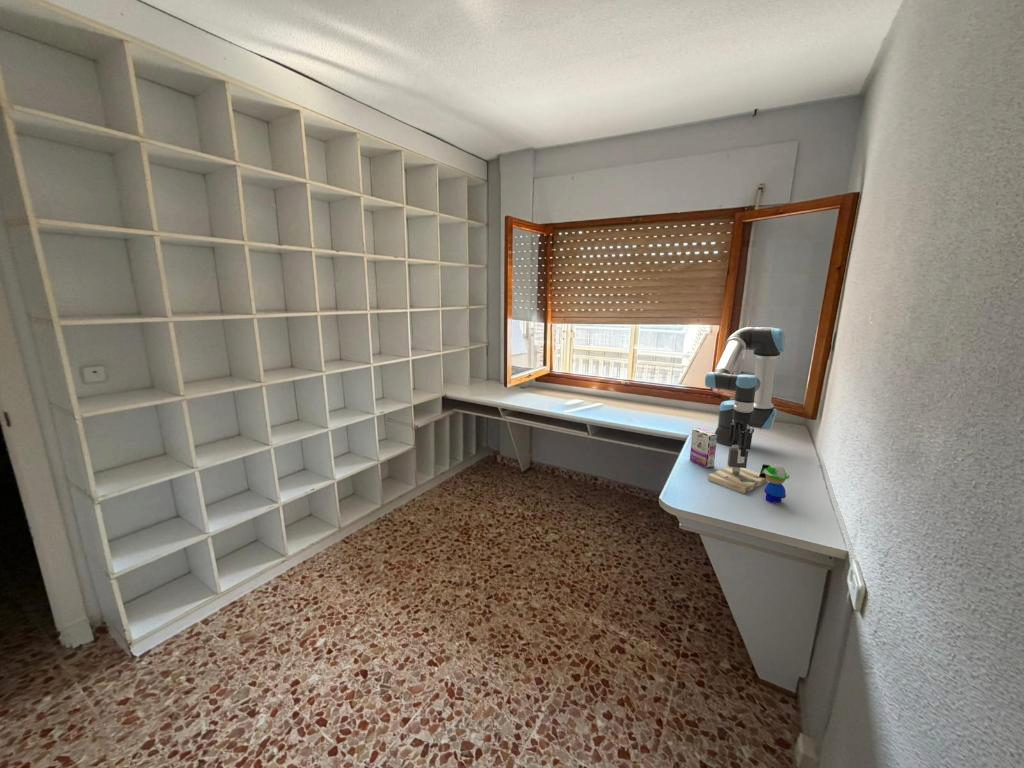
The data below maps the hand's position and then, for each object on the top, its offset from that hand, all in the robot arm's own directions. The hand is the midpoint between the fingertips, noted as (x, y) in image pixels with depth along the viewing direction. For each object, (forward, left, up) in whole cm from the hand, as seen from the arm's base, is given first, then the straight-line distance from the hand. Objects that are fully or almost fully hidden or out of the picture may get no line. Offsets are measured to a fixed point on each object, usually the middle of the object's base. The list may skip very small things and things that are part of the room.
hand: (737, 460), depth 183 cm
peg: (+3, +3, -6) cm, 7 cm away
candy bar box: (-3, -18, -9) cm, 20 cm away
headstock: (+2, +2, -8) cm, 9 cm away
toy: (+8, +19, -9) cm, 22 cm away
